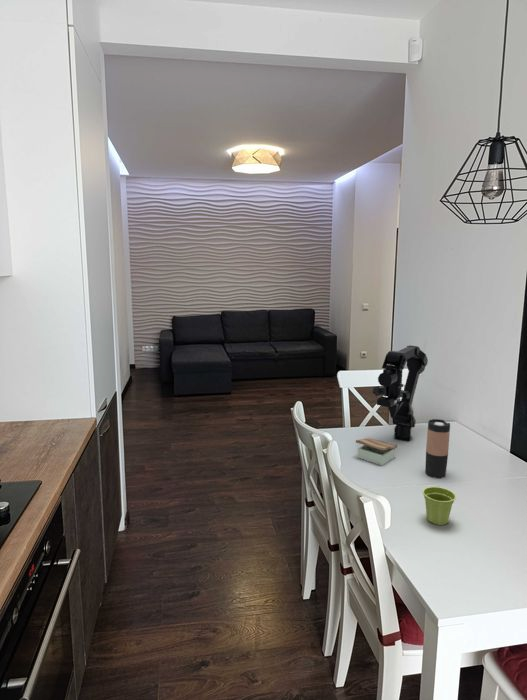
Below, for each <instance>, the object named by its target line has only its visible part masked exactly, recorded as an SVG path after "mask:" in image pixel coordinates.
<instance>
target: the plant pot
mask: <svg viewBox="0 0 527 700" xmlns="http://www.w3.org/2000/svg"><path fill="white" fill-rule="evenodd" d="M422 495H423V498H424V502H425V510H426V511H425V512H426V520H427V521H428V522H429V523H432V524H434V525H438V526H445V525H446V524H448V523H449V520H450V515H451V511H452V507H453V504H454V503H455V500H456V499H457V495H456V494H455V493H454V492H453V491H452V490H449V489H448V488H445V487H440V486H429V487H425V488H424V489H423V490H422Z"/></svg>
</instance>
